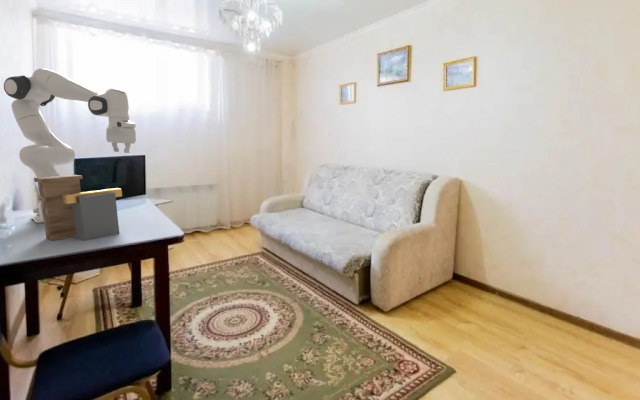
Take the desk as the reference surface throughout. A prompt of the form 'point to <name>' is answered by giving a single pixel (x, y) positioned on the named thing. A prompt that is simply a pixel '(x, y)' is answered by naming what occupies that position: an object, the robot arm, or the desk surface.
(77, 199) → the wooden block
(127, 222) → the desk surface
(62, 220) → the stand
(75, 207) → the cradle
